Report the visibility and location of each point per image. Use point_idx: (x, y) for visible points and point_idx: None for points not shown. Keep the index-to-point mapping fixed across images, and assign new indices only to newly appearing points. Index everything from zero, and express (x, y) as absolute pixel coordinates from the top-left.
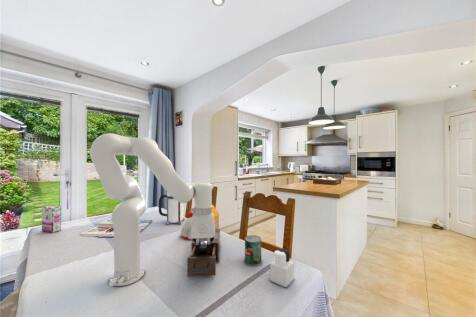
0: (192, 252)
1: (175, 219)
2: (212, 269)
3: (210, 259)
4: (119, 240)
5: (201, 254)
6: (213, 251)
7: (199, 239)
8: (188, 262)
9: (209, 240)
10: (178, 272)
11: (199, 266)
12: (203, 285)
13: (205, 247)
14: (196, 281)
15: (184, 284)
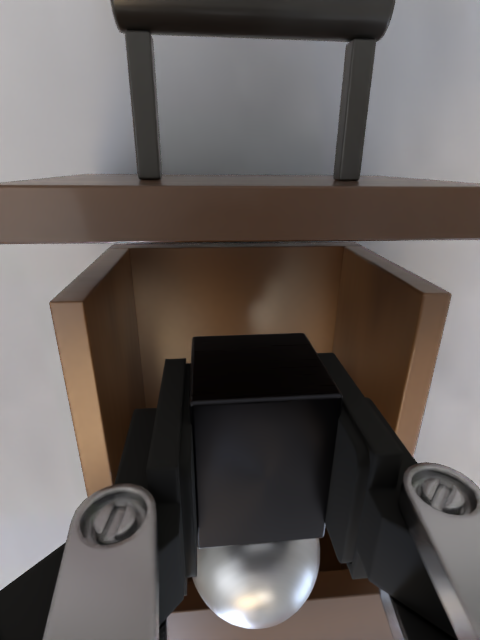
0: (418, 392)
1: None
2: (101, 176)
3: (91, 182)
4: None
5: (276, 336)
6: (91, 424)
7: (405, 636)
8: (453, 182)
9: (78, 600)
10: (449, 278)
11: (273, 178)
12: (196, 39)
13: (215, 424)
14: (277, 121)
15: (390, 75)
